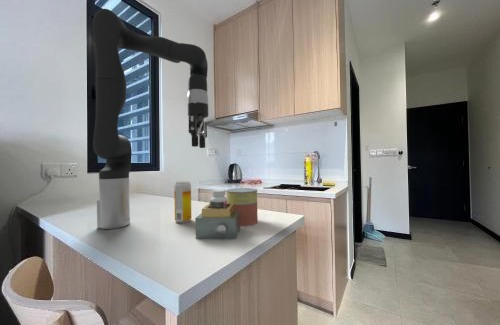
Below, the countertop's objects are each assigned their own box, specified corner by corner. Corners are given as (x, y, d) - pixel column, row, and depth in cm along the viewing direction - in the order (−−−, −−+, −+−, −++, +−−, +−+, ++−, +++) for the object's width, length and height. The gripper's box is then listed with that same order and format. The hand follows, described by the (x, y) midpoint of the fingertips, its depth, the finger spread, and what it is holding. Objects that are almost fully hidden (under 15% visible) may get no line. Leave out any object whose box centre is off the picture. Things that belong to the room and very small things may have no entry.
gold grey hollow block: (193, 240, 61) (192, 211, 61) (205, 227, 73) (204, 202, 73) (234, 241, 60) (234, 211, 60) (240, 228, 72) (239, 202, 72)
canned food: (262, 220, 82) (262, 188, 82) (249, 228, 71) (248, 192, 71) (236, 217, 87) (236, 187, 86) (221, 224, 76) (220, 191, 76)
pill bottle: (227, 223, 65) (227, 191, 65) (209, 224, 65) (209, 191, 65) (226, 218, 71) (226, 189, 71) (210, 219, 70) (210, 189, 70)
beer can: (193, 219, 85) (193, 181, 84) (187, 223, 78) (187, 182, 78) (179, 218, 85) (178, 181, 85) (172, 223, 79) (171, 182, 79)
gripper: (194, 109, 87) (195, 148, 88) (180, 99, 73) (181, 146, 73) (212, 108, 87) (213, 148, 87) (202, 98, 73) (203, 145, 73)
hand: (198, 147), depth 80 cm, fingers open, 8 cm apart
